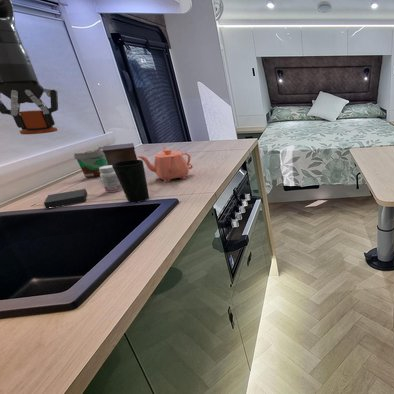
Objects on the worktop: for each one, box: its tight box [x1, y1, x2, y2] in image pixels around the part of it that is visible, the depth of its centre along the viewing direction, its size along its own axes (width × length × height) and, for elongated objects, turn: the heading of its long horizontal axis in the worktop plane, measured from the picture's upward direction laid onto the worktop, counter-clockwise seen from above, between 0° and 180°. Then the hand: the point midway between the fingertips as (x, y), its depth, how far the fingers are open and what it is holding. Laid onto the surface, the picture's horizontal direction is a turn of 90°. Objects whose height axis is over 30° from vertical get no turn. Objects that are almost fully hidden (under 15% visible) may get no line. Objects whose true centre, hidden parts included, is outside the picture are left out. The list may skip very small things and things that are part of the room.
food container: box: [73, 146, 108, 179], centre depth 115 cm, size 12×6×10 cm, turn 179°
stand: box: [43, 188, 88, 209], centre depth 91 cm, size 9×8×2 cm
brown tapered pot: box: [102, 142, 138, 165], centre depth 112 cm, size 9×9×12 cm
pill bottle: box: [99, 165, 123, 193], centre depth 99 cm, size 5×5×8 cm
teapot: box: [136, 147, 194, 183], centre depth 111 cm, size 14×14×11 cm
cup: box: [112, 159, 150, 203], centre depth 90 cm, size 8×8×12 cm
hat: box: [19, 109, 58, 135], centre depth 82 cm, size 8×8×6 cm
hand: (37, 128), depth 83 cm, fingers closed on hat, 4 cm apart
